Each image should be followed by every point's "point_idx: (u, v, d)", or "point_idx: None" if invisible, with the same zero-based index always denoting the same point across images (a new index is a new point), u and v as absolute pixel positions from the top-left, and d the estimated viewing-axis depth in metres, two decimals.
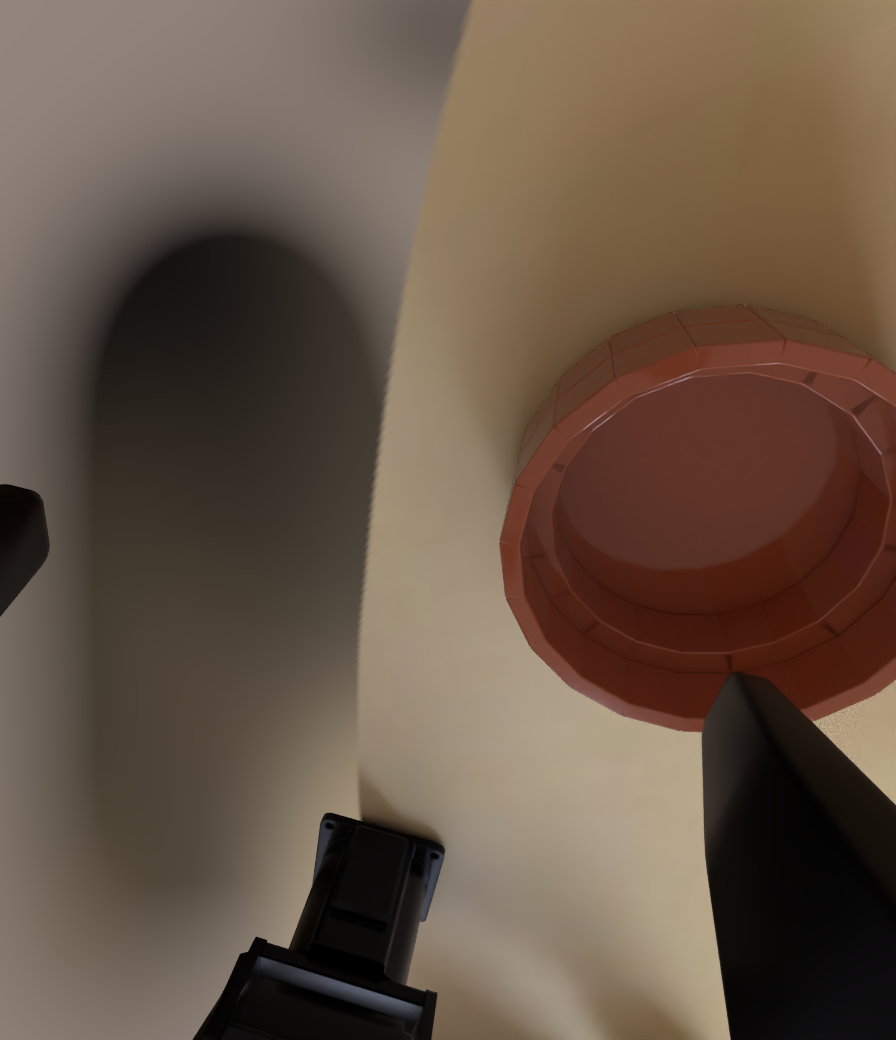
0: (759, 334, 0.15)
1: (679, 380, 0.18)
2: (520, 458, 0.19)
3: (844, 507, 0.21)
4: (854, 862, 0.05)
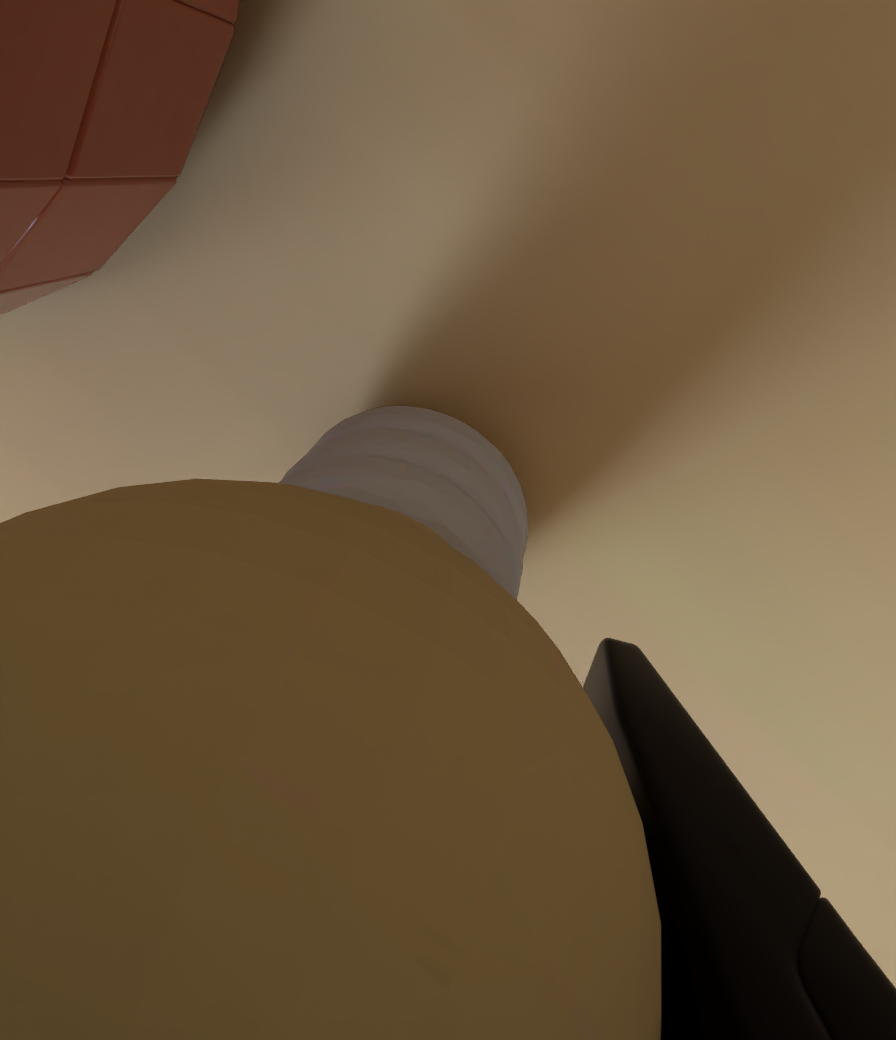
0: None
1: None
2: None
3: None
4: (657, 808, 0.05)
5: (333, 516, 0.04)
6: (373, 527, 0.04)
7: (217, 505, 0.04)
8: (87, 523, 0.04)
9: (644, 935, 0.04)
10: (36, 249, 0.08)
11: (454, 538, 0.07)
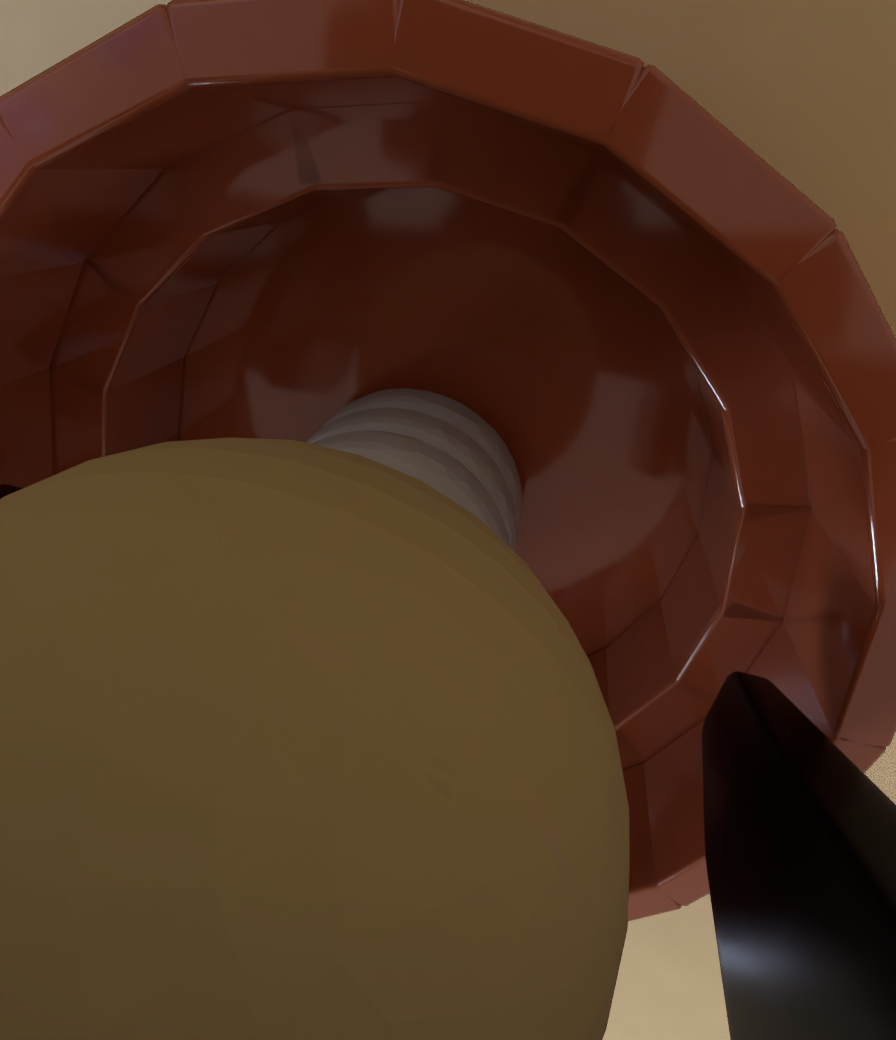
0: None
1: (644, 289, 0.08)
2: None
3: None
4: (854, 862, 0.05)
5: (350, 463, 0.05)
6: (384, 473, 0.05)
7: (253, 451, 0.05)
8: (147, 463, 0.04)
9: (611, 805, 0.04)
10: None
11: None
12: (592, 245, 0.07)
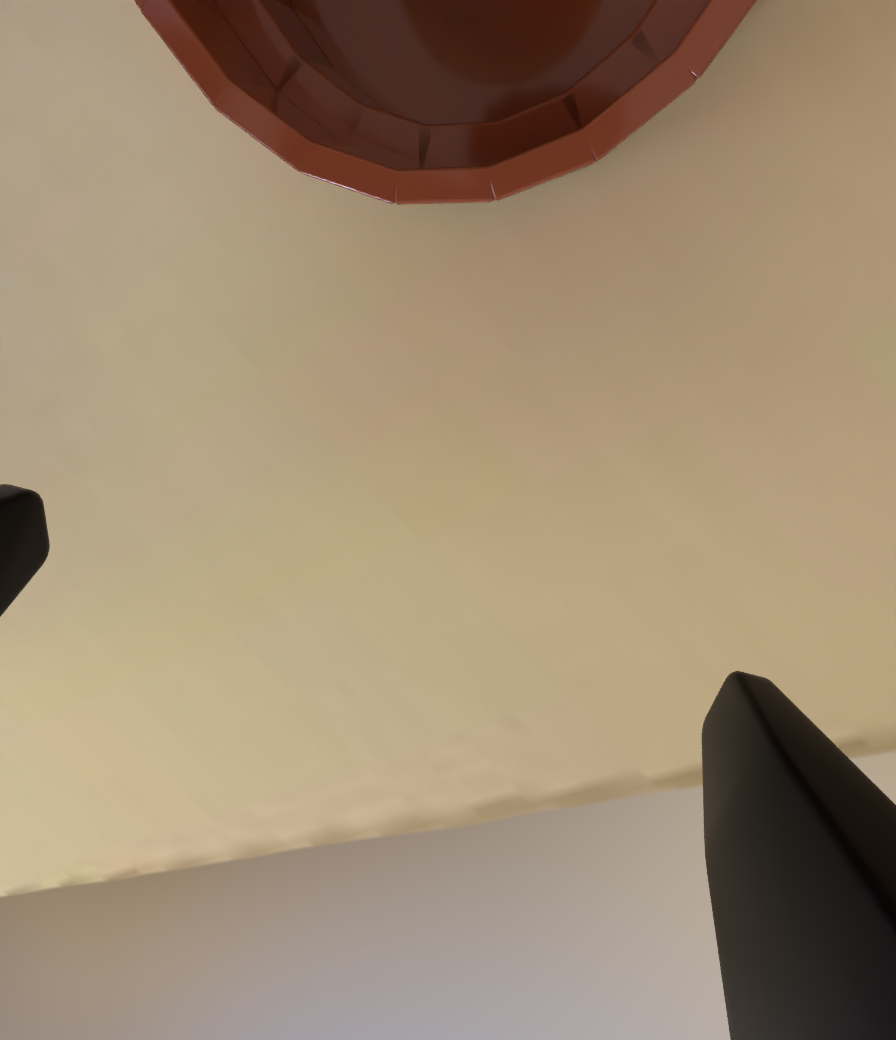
0: None
1: None
2: None
3: (568, 82, 0.15)
4: (854, 862, 0.05)
5: None
6: None
7: None
8: None
9: None
10: None
11: None
12: None
